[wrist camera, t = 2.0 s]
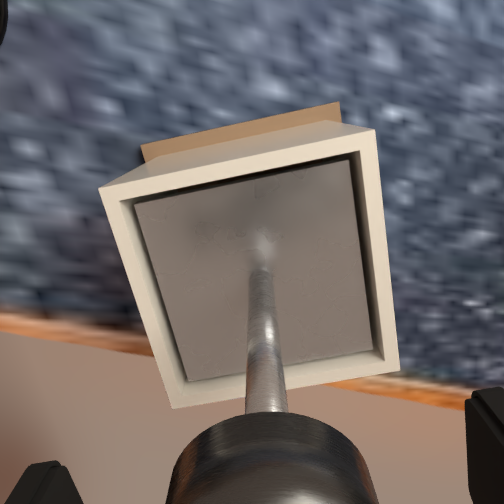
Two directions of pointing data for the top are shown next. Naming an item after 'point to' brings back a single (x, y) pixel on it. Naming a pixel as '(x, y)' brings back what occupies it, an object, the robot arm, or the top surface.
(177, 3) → the top surface
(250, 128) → the white open box
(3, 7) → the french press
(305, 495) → the plunger
